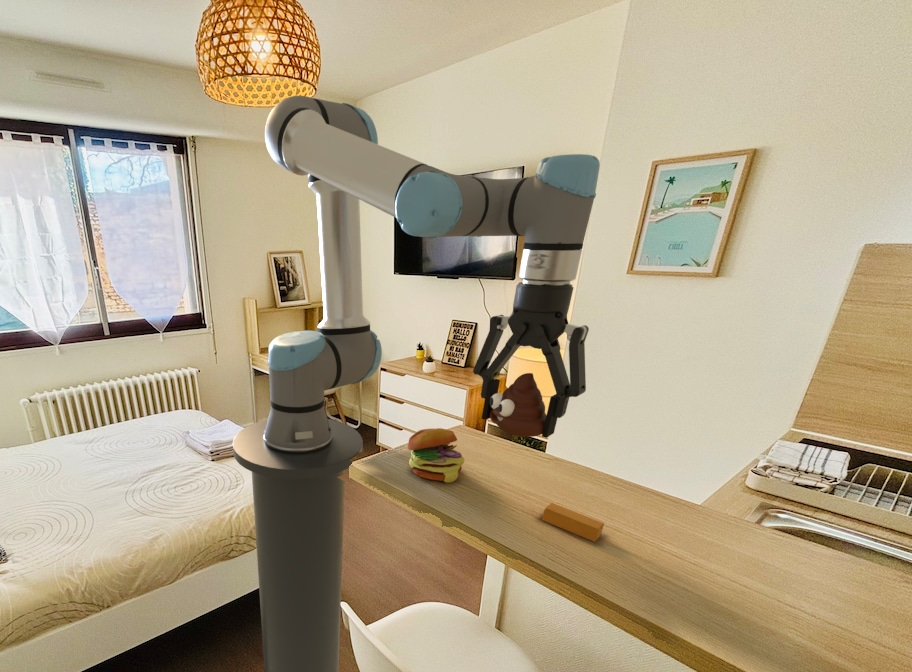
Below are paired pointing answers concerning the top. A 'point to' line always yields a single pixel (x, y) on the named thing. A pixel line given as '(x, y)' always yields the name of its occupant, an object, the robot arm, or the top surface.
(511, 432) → the poop emoji
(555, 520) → the ochre stick
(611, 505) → the top surface
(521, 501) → the top surface
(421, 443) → the cheeseburger
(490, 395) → the robot arm
